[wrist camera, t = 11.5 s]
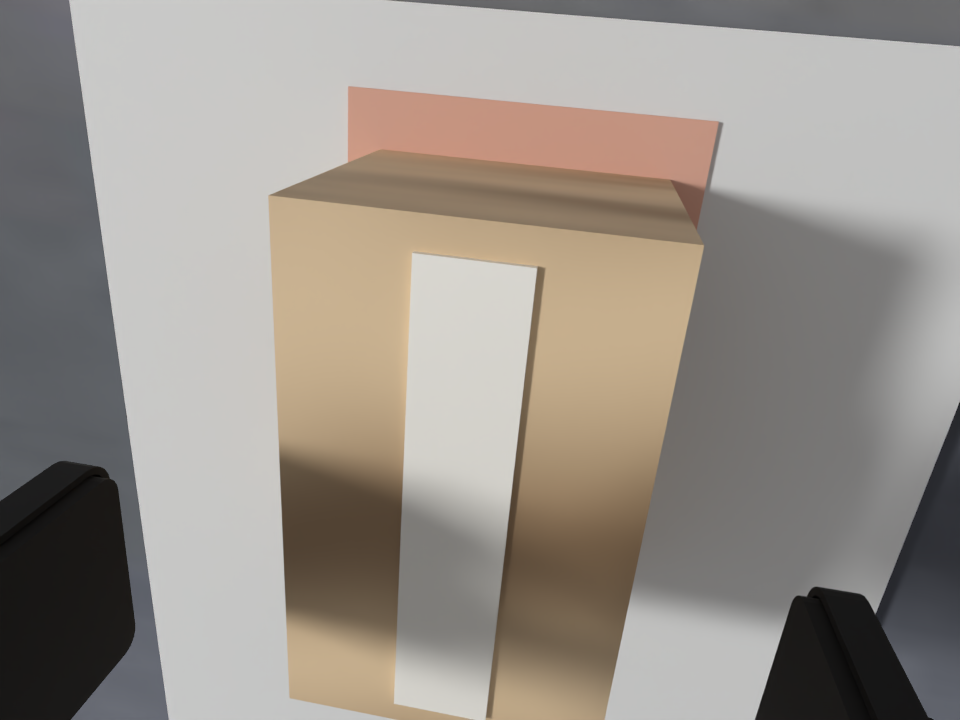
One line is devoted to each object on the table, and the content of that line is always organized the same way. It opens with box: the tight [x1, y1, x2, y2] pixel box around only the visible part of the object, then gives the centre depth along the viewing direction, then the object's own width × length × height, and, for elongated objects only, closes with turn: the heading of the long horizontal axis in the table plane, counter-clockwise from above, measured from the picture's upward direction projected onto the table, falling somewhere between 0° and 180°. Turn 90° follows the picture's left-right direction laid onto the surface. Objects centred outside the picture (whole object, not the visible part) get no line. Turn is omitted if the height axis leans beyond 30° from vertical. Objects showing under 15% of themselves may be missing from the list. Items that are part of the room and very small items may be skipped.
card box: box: [268, 149, 704, 720], centre depth 13 cm, size 9×6×5 cm, turn 175°
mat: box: [69, 0, 960, 720], centre depth 18 cm, size 26×18×1 cm
